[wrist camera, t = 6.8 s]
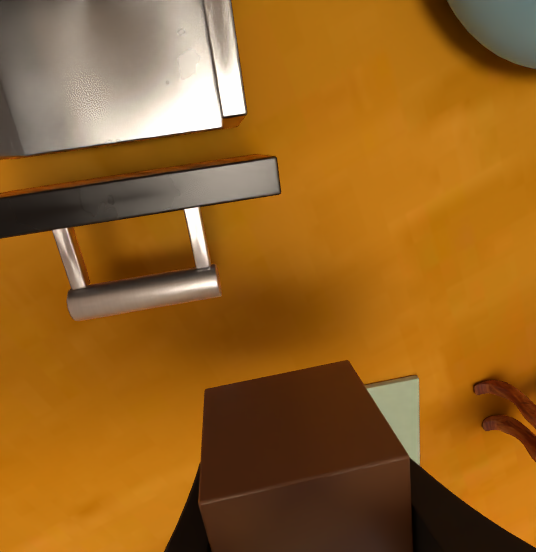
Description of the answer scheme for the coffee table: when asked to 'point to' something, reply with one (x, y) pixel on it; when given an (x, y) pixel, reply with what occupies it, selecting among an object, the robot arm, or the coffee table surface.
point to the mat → (400, 410)
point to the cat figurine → (509, 424)
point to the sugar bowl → (501, 27)
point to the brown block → (302, 466)
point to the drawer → (123, 128)
